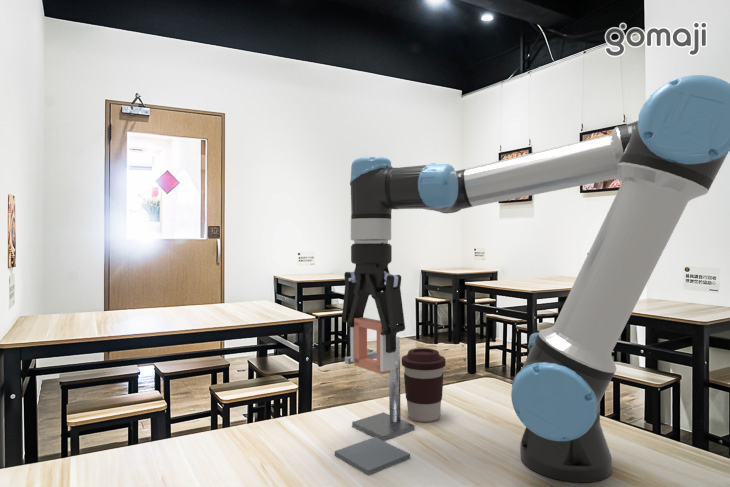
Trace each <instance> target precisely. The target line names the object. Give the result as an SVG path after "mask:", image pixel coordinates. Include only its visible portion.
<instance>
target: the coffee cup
mask: <svg viewBox="0 0 730 487" xmlns="http://www.w3.org/2000/svg"><path fill="white" fill-rule="evenodd" d="M446 363H447V362H446V358H445V357H444V356H442V355H441V354H440V351H438V350H437V349H433V348H427V347H417V348H411V349H409V350H408V352H407V353H406V354H405V355H403V356H402V357H401V365H402V367H404V368H403V369H404V373H403V379H404V389H405V390H404V392H405V399H406V403H407V404H406V407H407V415H408V417H409V419H410V420H413V421H416V422H419V423H429V422H434V421H437V420H438V419H440V417H441V410H442V409H441V408H442V407H441V406H442V405H441V403H442V399H443V390H444V389H443V388H444V373H443V371H444V368H445V367H446Z"/></svg>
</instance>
